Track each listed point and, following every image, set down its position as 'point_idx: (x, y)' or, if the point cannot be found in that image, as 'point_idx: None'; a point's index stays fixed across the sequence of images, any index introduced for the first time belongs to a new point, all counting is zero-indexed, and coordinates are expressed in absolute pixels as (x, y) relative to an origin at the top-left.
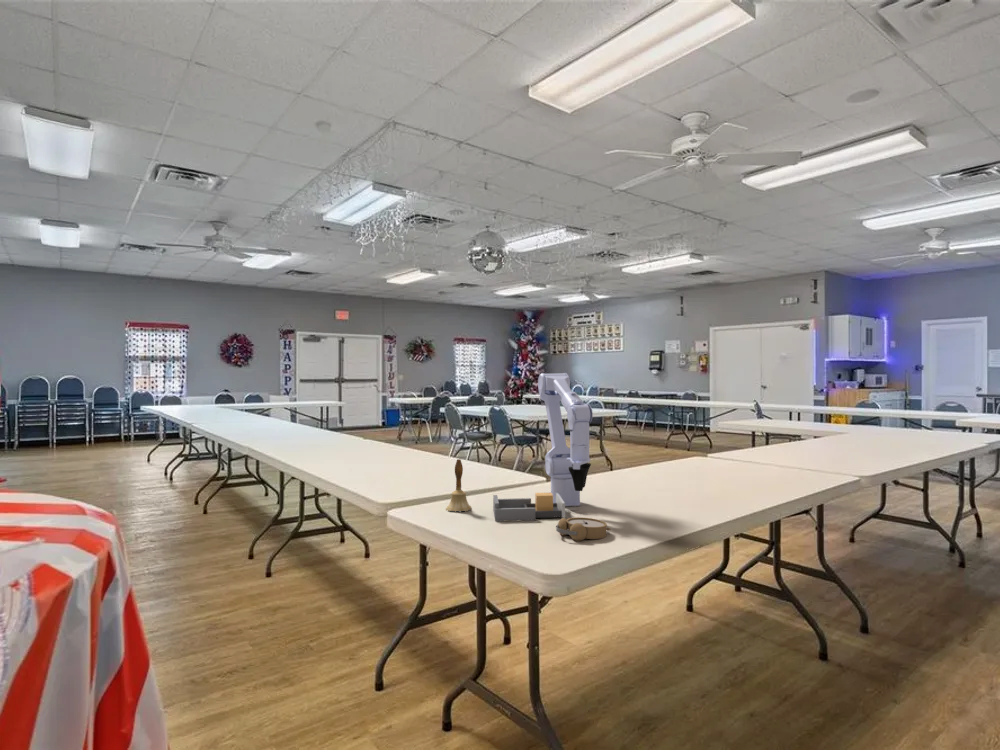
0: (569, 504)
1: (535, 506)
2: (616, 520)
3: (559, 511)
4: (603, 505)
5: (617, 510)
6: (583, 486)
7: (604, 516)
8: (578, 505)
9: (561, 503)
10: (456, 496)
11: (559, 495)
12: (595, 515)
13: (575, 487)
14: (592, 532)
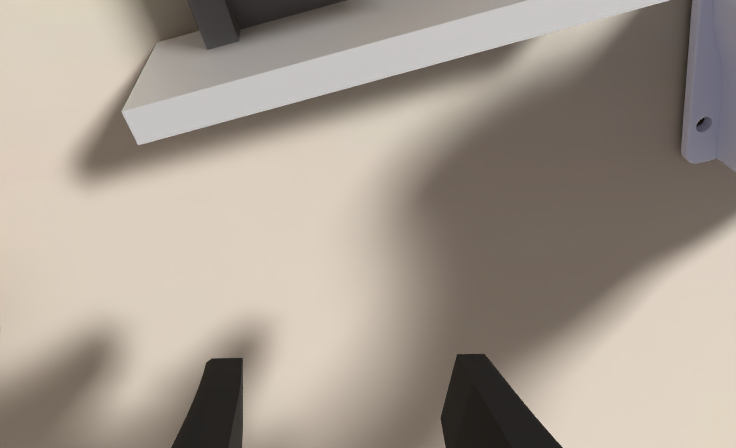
0: (703, 65)
1: None
2: (269, 414)
3: (197, 22)
4: (678, 312)
5: (531, 396)
6: (445, 421)
7: (361, 346)
8: (682, 146)
9: (203, 81)
10: None
11: (588, 17)
12: (380, 292)
13: (197, 402)
14: None
